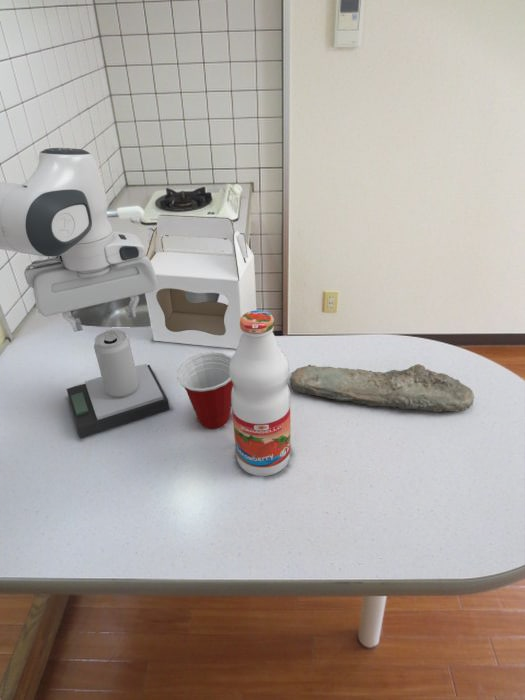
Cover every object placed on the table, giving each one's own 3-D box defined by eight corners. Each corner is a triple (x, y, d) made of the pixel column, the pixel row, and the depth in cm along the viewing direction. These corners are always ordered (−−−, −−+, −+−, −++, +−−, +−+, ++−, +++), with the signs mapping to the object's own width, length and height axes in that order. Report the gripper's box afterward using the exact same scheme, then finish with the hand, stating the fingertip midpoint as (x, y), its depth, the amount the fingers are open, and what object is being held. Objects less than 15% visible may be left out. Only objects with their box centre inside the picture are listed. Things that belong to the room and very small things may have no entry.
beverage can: (106, 402, 99) (92, 350, 92) (105, 382, 104) (92, 331, 97) (140, 395, 100) (129, 343, 94) (137, 376, 105) (126, 325, 99)
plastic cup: (179, 407, 102) (171, 357, 95) (233, 395, 105) (228, 345, 98) (190, 445, 94) (181, 393, 87) (248, 431, 96) (244, 379, 89)
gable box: (258, 319, 128) (252, 207, 112) (244, 350, 117) (237, 231, 102) (172, 312, 132) (155, 203, 116) (152, 341, 122) (130, 225, 106)
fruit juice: (291, 438, 94) (291, 302, 78) (289, 479, 86) (288, 337, 70) (239, 436, 95) (228, 301, 79) (232, 476, 87) (218, 335, 71)
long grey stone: (295, 373, 112) (286, 405, 104) (293, 354, 109) (284, 385, 101) (470, 385, 103) (474, 421, 96) (474, 364, 100) (478, 400, 93)
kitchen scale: (80, 438, 96) (76, 425, 94) (69, 398, 106) (65, 385, 104) (169, 409, 102) (167, 396, 100) (151, 373, 111) (148, 361, 110)
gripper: (22, 271, 80) (46, 347, 87) (153, 245, 87) (164, 317, 95) (19, 256, 84) (41, 329, 92) (143, 232, 92) (154, 302, 99)
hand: (105, 323), depth 93 cm, fingers open, 8 cm apart
